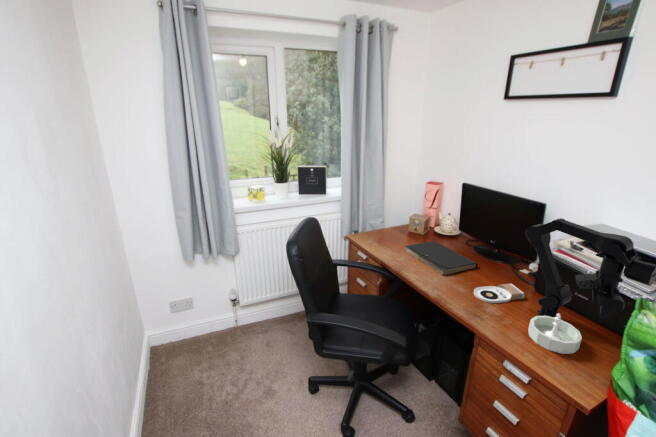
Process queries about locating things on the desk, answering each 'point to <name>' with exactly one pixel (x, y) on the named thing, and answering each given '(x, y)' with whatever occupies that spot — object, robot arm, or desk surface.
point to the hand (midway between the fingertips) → (598, 311)
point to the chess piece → (555, 328)
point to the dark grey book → (440, 257)
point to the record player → (498, 293)
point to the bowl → (565, 345)
